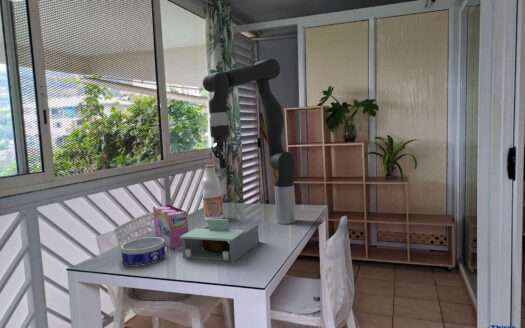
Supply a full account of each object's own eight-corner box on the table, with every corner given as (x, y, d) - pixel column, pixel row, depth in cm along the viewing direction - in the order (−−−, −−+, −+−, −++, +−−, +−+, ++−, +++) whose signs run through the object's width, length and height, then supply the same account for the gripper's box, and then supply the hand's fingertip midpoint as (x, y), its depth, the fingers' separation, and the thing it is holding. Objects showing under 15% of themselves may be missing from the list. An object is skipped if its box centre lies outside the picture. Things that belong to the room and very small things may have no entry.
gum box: (154, 236, 166) (151, 206, 165) (171, 232, 170) (168, 203, 169) (171, 249, 146) (168, 215, 144) (190, 244, 150) (187, 211, 149)
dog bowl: (150, 249, 148) (148, 234, 147) (174, 255, 138) (172, 239, 137) (114, 261, 136) (112, 245, 135) (137, 269, 126) (135, 252, 126)
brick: (202, 250, 138) (201, 238, 138) (210, 247, 141) (209, 235, 141) (223, 255, 131) (221, 242, 131) (230, 252, 134) (229, 239, 134)
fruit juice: (201, 220, 190) (196, 166, 187) (215, 216, 196) (211, 163, 193) (212, 222, 183) (207, 166, 180) (227, 218, 189) (222, 164, 186)
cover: (195, 230, 143) (194, 218, 143) (245, 232, 135) (244, 219, 135) (180, 238, 134) (179, 225, 133) (232, 241, 126) (231, 227, 125)
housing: (212, 239, 155) (211, 222, 154) (259, 241, 147) (257, 224, 146) (180, 258, 133) (178, 239, 133) (232, 263, 125) (231, 242, 125)
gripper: (219, 124, 153) (222, 166, 155) (202, 125, 141) (206, 171, 142) (235, 123, 150) (238, 166, 152) (219, 124, 138) (224, 170, 140)
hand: (223, 168), depth 147 cm, fingers closed
